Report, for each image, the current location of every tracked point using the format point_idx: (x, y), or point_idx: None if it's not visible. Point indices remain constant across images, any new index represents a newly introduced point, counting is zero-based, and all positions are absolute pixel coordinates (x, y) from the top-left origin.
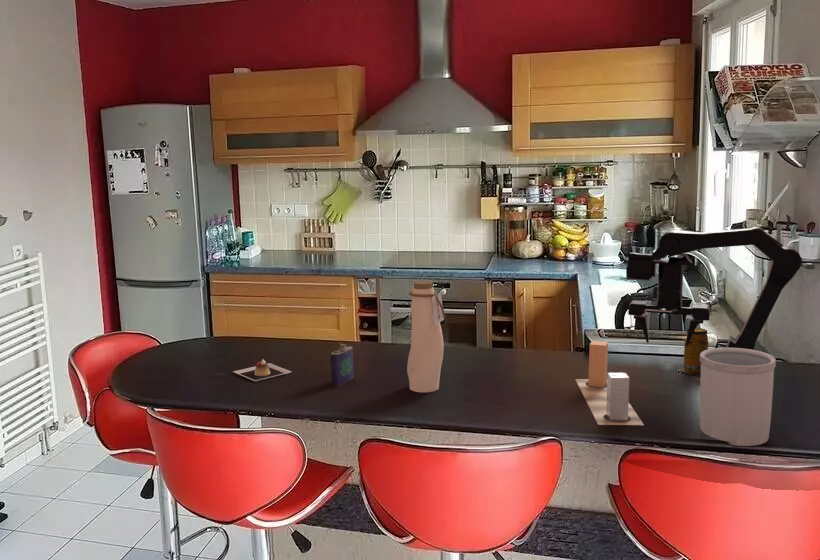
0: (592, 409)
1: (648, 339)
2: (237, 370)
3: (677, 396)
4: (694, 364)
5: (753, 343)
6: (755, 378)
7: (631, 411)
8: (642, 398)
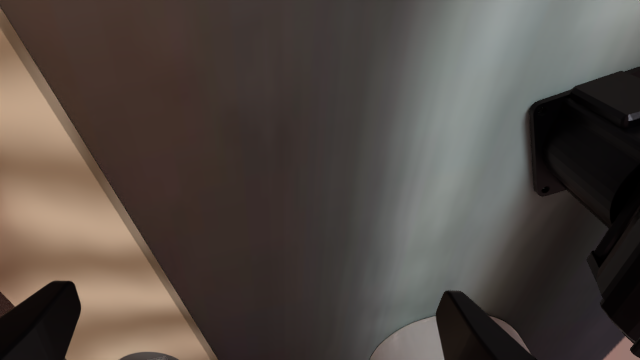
0: None
1: (66, 351)
2: None
3: (334, 117)
4: None
5: None
6: None
7: (181, 331)
8: (190, 179)
